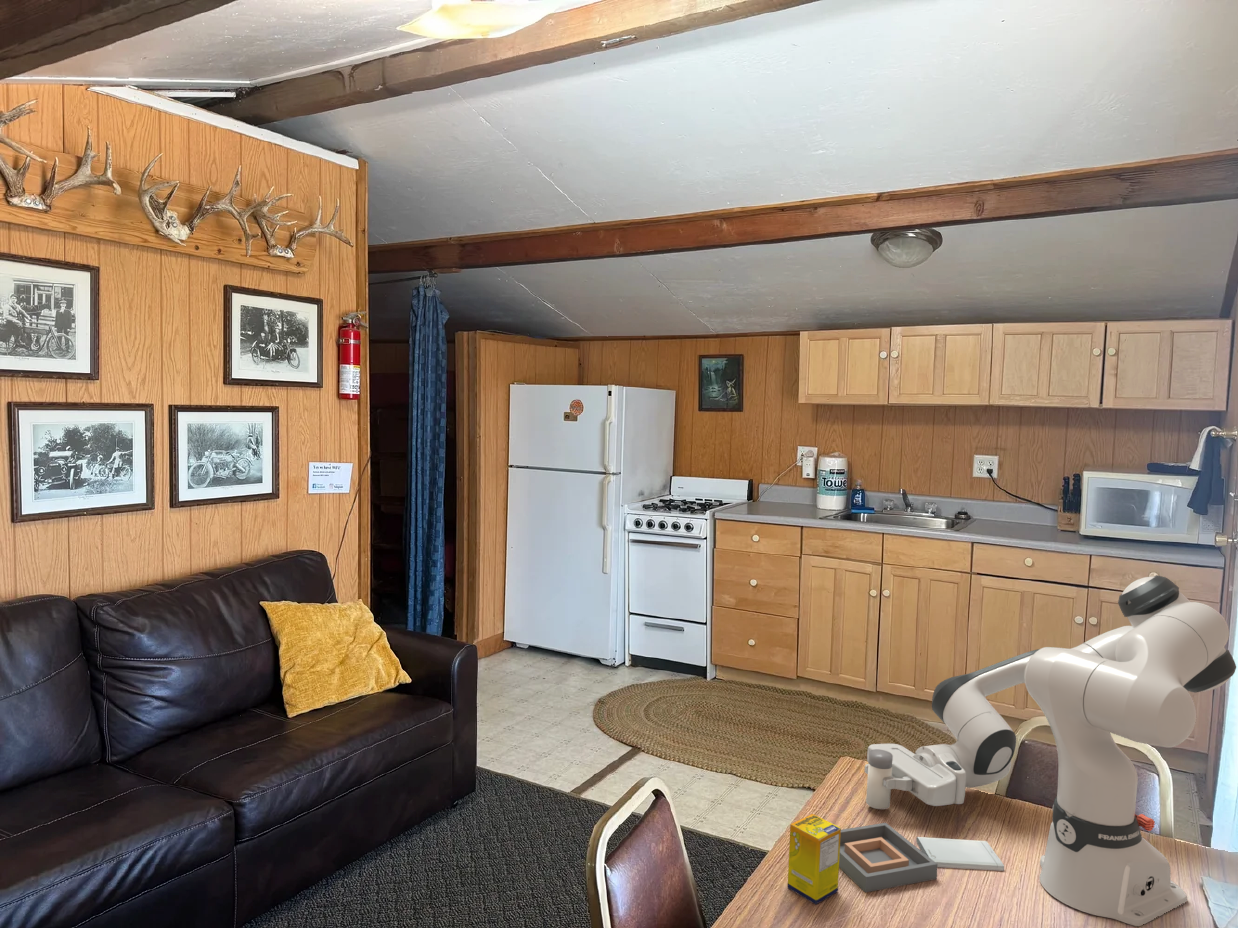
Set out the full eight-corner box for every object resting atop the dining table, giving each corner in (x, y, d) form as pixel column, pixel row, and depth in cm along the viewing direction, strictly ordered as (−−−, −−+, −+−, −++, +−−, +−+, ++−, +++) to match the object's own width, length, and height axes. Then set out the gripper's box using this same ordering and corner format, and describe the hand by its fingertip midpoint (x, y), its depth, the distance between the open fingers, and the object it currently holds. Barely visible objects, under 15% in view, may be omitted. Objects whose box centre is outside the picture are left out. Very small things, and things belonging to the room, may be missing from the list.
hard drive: (930, 861, 143) (1004, 864, 143) (916, 835, 152) (986, 839, 151) (930, 870, 144) (1004, 873, 143) (915, 844, 152) (985, 847, 151)
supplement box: (808, 875, 140) (812, 812, 139) (838, 892, 135) (842, 827, 134) (785, 887, 136) (789, 823, 135) (815, 905, 131) (819, 839, 131)
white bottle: (880, 796, 166) (883, 748, 165) (894, 807, 162) (897, 757, 161) (861, 799, 164) (864, 750, 163) (875, 810, 160) (878, 760, 159)
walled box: (884, 836, 153) (885, 822, 153) (936, 878, 140) (937, 864, 140) (818, 847, 149) (819, 833, 148) (865, 892, 135) (866, 877, 135)
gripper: (902, 732, 176) (845, 739, 172) (971, 775, 157) (910, 784, 152) (900, 761, 177) (844, 769, 172) (969, 808, 157) (908, 817, 153)
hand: (875, 776), depth 162 cm, fingers closed on white bottle, 4 cm apart
